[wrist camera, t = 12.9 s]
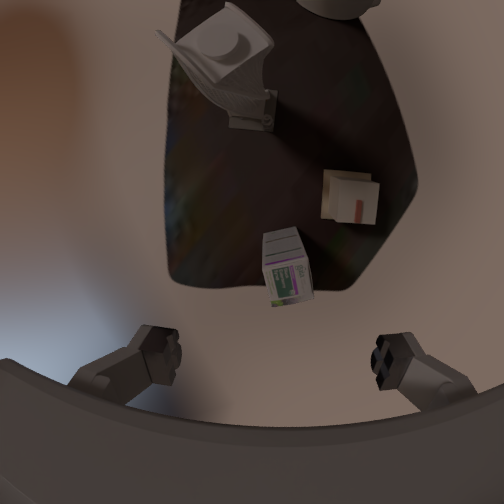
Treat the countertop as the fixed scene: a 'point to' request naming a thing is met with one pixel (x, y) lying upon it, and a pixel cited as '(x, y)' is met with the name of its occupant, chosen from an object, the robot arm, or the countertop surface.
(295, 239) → the syrup box
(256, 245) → the countertop surface
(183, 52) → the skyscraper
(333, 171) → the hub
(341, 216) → the knob
